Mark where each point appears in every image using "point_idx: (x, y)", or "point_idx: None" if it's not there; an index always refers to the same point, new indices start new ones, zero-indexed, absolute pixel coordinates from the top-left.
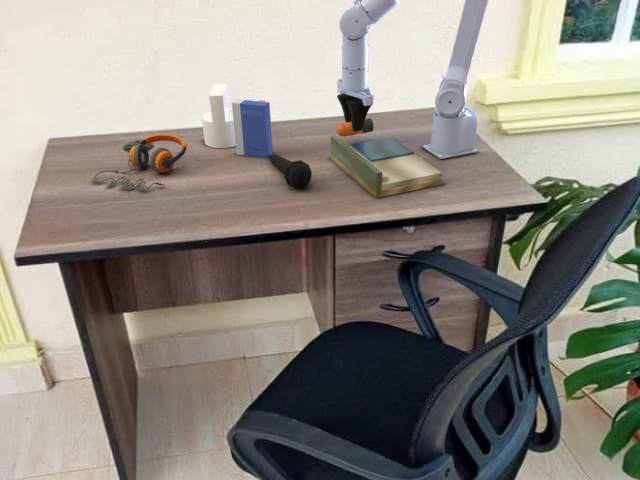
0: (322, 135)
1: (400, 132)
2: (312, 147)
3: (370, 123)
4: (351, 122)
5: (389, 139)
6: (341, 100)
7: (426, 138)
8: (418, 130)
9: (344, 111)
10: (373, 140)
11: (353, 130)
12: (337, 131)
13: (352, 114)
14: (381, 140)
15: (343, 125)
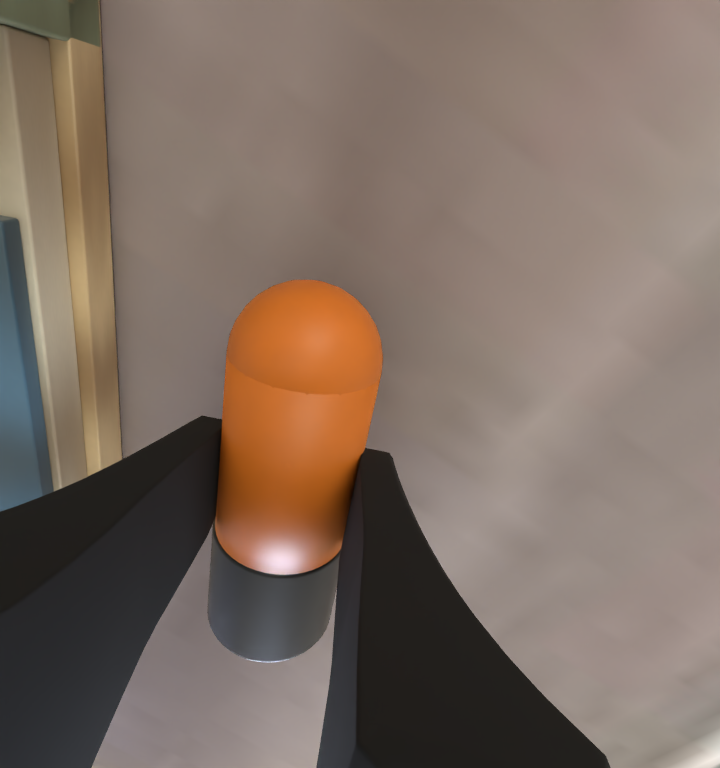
0: (669, 306)
1: (321, 687)
2: (491, 8)
3: (211, 604)
4: (265, 481)
5: None
6: (352, 710)
7: (174, 709)
8: (292, 745)
9: (376, 552)
10: (24, 445)
11: (212, 420)
12: (314, 281)
13: (18, 512)
14: (2, 489)
15: (254, 364)
